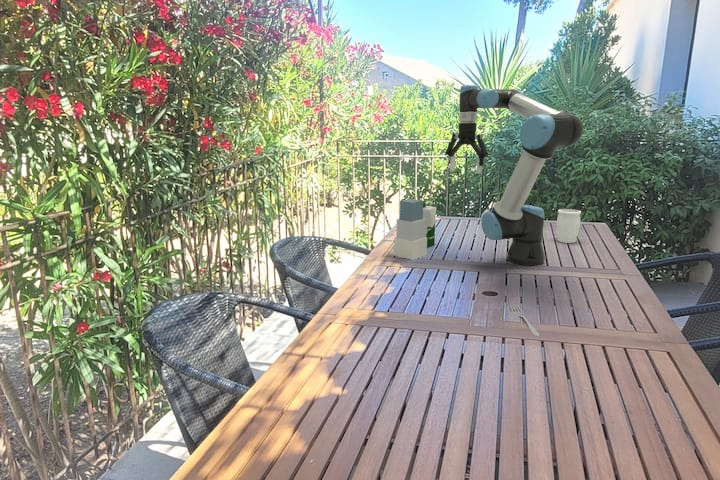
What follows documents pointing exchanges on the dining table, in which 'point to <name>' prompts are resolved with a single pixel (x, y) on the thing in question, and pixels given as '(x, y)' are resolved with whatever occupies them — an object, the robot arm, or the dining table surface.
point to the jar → (568, 225)
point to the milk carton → (429, 223)
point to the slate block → (411, 210)
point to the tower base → (410, 248)
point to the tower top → (411, 229)
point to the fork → (524, 319)
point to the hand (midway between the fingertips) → (465, 172)
